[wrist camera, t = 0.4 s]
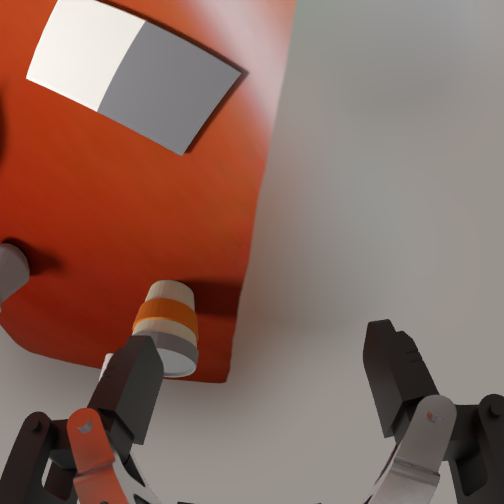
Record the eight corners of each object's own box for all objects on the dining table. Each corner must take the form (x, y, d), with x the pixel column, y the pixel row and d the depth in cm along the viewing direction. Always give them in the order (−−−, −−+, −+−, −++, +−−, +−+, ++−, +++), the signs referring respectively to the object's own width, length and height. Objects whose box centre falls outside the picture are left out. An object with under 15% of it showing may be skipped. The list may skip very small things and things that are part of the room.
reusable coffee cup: (132, 274, 52) (113, 344, 42) (196, 271, 52) (187, 346, 41) (152, 313, 61) (141, 376, 50) (208, 312, 61) (204, 378, 50)
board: (30, 76, 25) (25, 78, 25) (67, -10, 18) (63, -10, 18) (182, 153, 36) (181, 156, 36) (241, 72, 29) (241, 73, 29)
